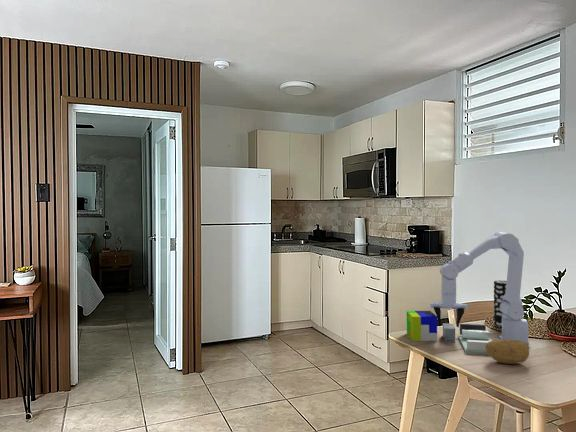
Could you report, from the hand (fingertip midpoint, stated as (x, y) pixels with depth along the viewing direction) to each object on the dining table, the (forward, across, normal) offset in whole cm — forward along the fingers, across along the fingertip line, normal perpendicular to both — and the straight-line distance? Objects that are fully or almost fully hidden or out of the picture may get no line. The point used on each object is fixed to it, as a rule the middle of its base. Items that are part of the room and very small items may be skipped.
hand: (448, 326), depth 185 cm
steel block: (+6, 0, 0) cm, 6 cm away
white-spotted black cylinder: (+5, +27, +25) cm, 37 cm away
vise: (+5, +10, -8) cm, 14 cm away
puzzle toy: (+6, -11, +1) cm, 12 cm away
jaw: (+4, +10, +1) cm, 11 cm away
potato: (+6, +17, -25) cm, 31 cm away
